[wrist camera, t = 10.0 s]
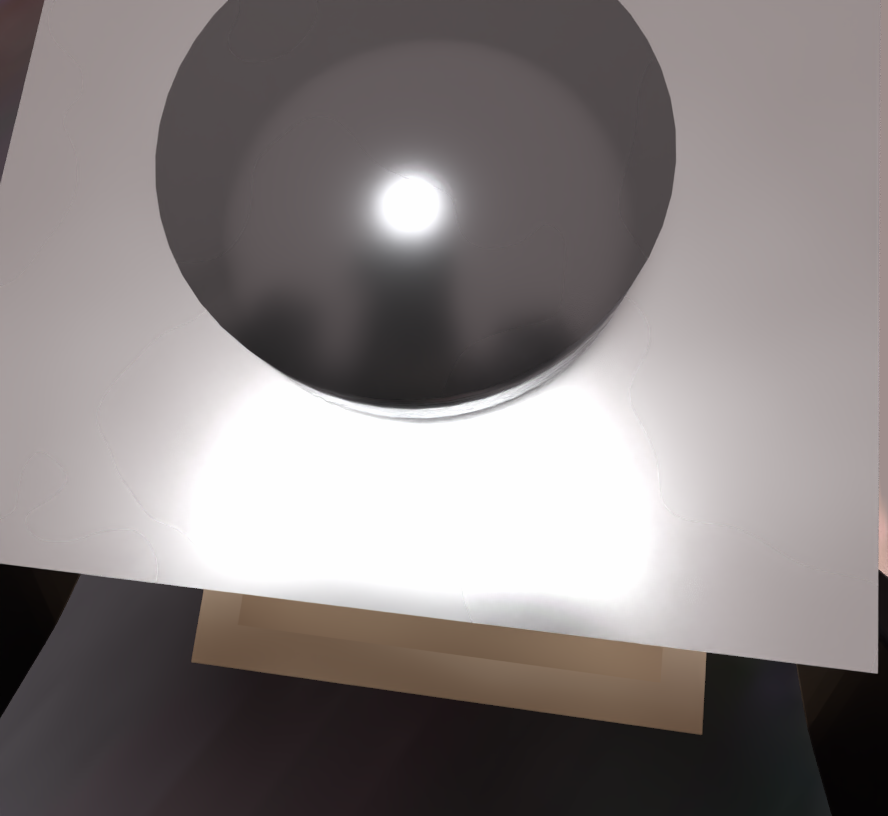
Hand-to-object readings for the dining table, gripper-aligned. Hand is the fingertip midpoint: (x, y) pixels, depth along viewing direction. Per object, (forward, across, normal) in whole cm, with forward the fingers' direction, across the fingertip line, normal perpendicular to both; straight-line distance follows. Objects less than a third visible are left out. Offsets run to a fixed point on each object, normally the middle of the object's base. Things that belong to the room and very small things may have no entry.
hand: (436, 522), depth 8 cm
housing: (+7, 0, +4) cm, 8 cm away
